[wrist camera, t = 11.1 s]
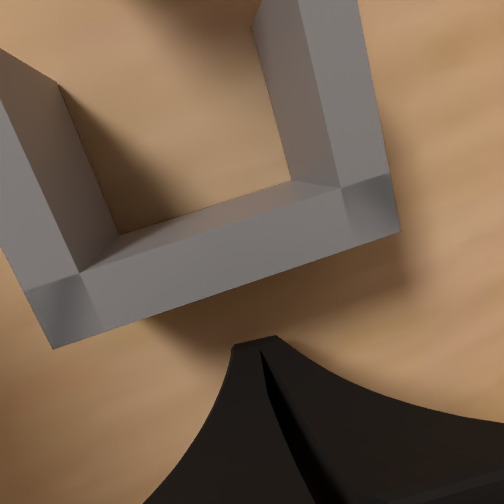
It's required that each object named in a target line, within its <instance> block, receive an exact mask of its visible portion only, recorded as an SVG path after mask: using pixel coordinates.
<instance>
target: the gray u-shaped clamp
mask: <svg viewBox="0 0 504 504" xmlns="http://www.w3.org/2000/svg"><path fill="white" fill-rule="evenodd" d="M251 28H252V32H253V36H254V39H255V43H256V47H257V51H258V55H259V58H260V62H261V66H262V70H263V73H264V77H265V81H266V85H267V89H268V92H269V96H270V100H271V104H272V107H273V111H274V115H275V119H276V123H277V126H278V130H279V134H280V138H281V142H282V145H283V149H284V153H285V157H286V160H287V164H288V168H289V172H290V176H291V179H292V180H291V181H288V182H285V183H282V184H279V185H276V186H273V187H269V188H266V189H263V190H260V191H257V192H254V193H251V194H248V195H245V196H241V197H238V198H235V199H232V200H229V201H226V202H223V203H220V204H216V205H213V206H210V207H207V208H204V209H201V210H198V211H195V212H191V213H188V214H185V215H182V216H179V217H176V218H173V219H170V220H166V221H163V222H160V223H157V224H154V225H151V226H148V227H145V228H141V229H138V230H135V231H132V232H129V233H126V234H123V235H120V236H119V233H118V231H117V229H116V226H115V224H114V221H113V219H112V216H111V214H110V211H109V209H108V207H107V204H106V202H105V199H104V197H103V194H102V192H101V189H100V187H99V185H98V182H97V180H96V177H95V175H94V172H93V170H92V167H91V165H90V163H89V160H88V158H87V155H86V153H85V150H84V148H83V145H82V143H81V141H80V138H79V136H78V133H77V131H76V128H75V126H74V123H73V121H72V119H71V116H70V114H69V111H68V109H67V106H66V104H65V101H64V99H63V97H62V94H61V92H60V89H59V87H58V84H57V82H56V81H54V80H52V79H51V78H49V77H47V76H46V75H44V74H42V73H41V72H39V71H37V70H36V69H34V68H32V67H31V66H29V65H27V64H26V63H24V62H22V61H21V60H19V59H17V58H16V57H14V56H12V55H11V54H9V53H7V52H6V51H4V50H2V49H1V48H0V246H1V248H2V250H3V252H4V254H5V256H6V258H7V260H8V262H9V264H10V266H11V268H12V270H13V272H14V274H15V276H16V278H17V280H18V282H19V284H20V286H21V288H22V290H23V292H24V294H25V296H26V298H27V300H28V302H29V304H30V306H31V308H32V310H33V312H34V314H35V316H36V318H37V320H38V321H39V323H40V325H41V327H42V329H43V331H44V333H45V335H46V337H47V339H48V341H49V343H50V345H51V347H52V349H56V348H59V347H62V346H65V345H68V344H71V343H74V342H77V341H80V340H82V339H85V338H88V337H91V336H94V335H97V334H100V333H103V332H106V331H109V330H112V329H115V328H118V327H121V326H124V325H127V324H130V323H133V322H136V321H139V320H141V319H144V318H147V317H150V316H153V315H156V314H159V313H162V312H165V311H168V310H171V309H174V308H177V307H180V306H183V305H186V304H189V303H192V302H195V301H198V300H200V299H203V298H206V297H209V296H212V295H215V294H218V293H221V292H224V291H227V290H230V289H233V288H236V287H239V286H242V285H245V284H248V283H251V282H254V281H257V280H259V279H262V278H265V277H268V276H271V275H274V274H277V273H280V272H283V271H286V270H289V269H292V268H295V267H298V266H301V265H304V264H307V263H310V262H313V261H316V260H318V259H321V258H324V257H327V256H330V255H333V254H336V253H339V252H342V251H345V250H348V249H351V248H354V247H357V246H360V245H363V244H366V243H369V242H372V241H375V240H377V239H380V238H383V237H386V236H389V235H392V234H395V233H398V232H401V229H400V223H399V218H398V213H397V208H396V202H395V197H394V192H393V187H392V181H391V176H390V171H389V166H388V160H387V155H386V150H385V145H384V139H383V134H382V129H381V123H380V118H379V113H378V108H377V102H376V97H375V92H374V87H373V81H372V76H371V71H370V66H369V60H368V55H367V50H366V45H365V39H364V34H363V29H362V24H361V18H360V13H359V8H358V3H357V0H262V1H261V4H260V6H259V9H258V11H257V14H256V16H255V19H254V21H253V23H252V26H251Z"/></svg>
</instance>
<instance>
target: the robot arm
mask: <svg viewBox="0 0 504 504" xmlns="http://www.w3.org/2000/svg"><path fill="white" fill-rule="evenodd" d="M143 504H504V423H499V422H493V421H486V420H480V419H474V418H467V417H462V416H457V415H453V414H449V413H444V412H440V411H435V410H431V409H427V408H423V407H420V406H416V405H412V404H409V403H406V402H403V401H400V400H396V399H393V398H390V397H387V396H384V395H381V394H379V393H376V392H373V391H371V390H368V389H366V388H364V387H361V386H359V385H357V384H354V383H352V382H350V381H348V380H346V379H344V378H341V377H339V376H338V375H336V374H334V373H332V372H330V371H328V370H327V369H325V368H323V367H321V366H320V365H318V364H316V363H315V362H313V361H312V360H310V359H309V358H307V357H306V356H304V355H303V354H301V353H300V352H298V351H297V350H296V349H294V348H293V347H291V346H290V345H289V344H287V343H286V342H285V341H283V340H282V339H281V338H279V337H278V336H276V335H273V336H269V337H265V338H260V339H256V340H252V341H247V342H243V343H239V344H234V346H233V347H232V348H231V357H230V362H229V365H228V369H227V372H226V375H225V378H224V381H223V384H222V387H221V389H220V392H219V394H218V396H217V398H216V401H215V403H214V405H213V407H212V409H211V411H210V413H209V415H208V417H207V419H206V421H205V423H204V424H203V426H202V428H201V430H200V431H199V433H198V435H197V436H196V438H195V439H194V441H193V442H192V444H191V445H190V447H189V448H188V450H187V451H186V453H185V454H184V456H183V457H182V458H181V460H180V461H179V463H178V464H177V465H176V467H175V468H174V469H173V470H172V472H171V473H170V474H169V475H168V476H167V477H166V479H165V480H164V481H163V482H162V483H161V484H160V486H159V487H158V488H157V489H156V490H155V491H154V492H153V493H152V494H151V496H150V497H149V498H148V499H147V500H146V501H145V502H144V503H143Z"/></svg>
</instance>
